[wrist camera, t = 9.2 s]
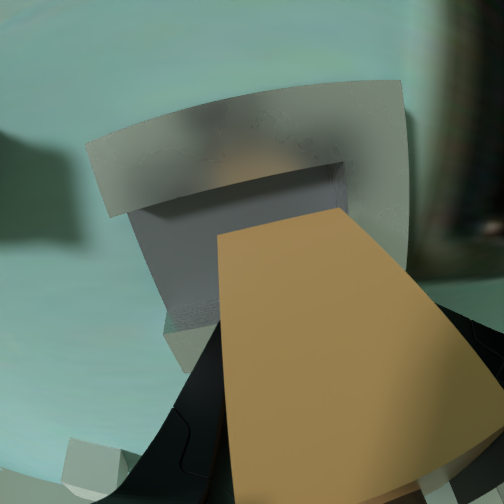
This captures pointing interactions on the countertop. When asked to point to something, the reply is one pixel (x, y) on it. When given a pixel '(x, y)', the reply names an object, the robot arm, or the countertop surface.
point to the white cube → (93, 469)
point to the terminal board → (252, 182)
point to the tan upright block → (342, 370)
